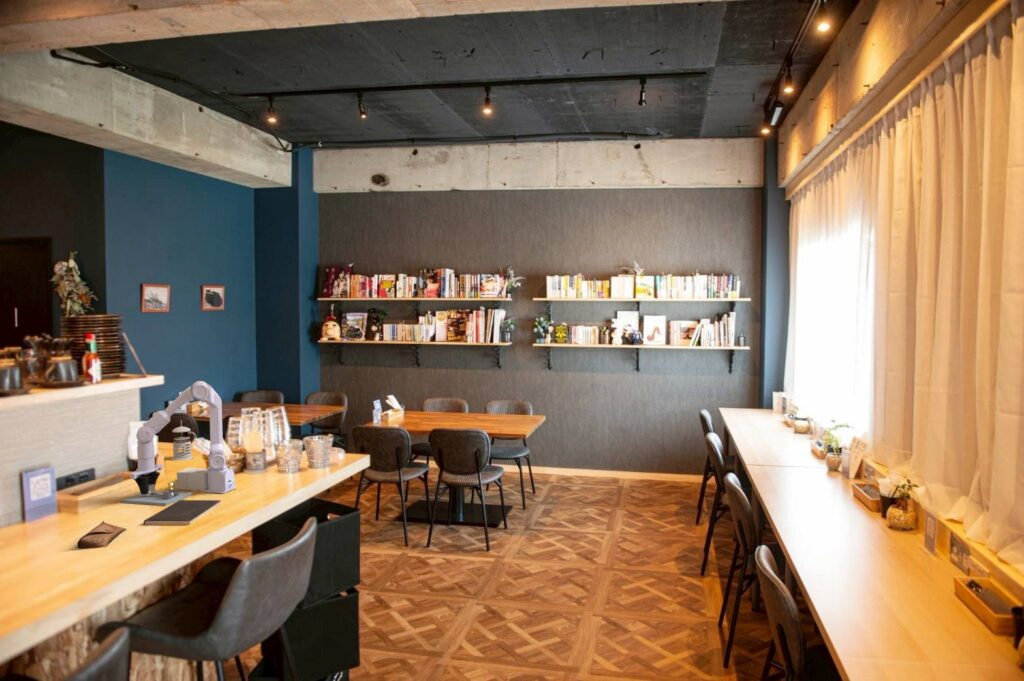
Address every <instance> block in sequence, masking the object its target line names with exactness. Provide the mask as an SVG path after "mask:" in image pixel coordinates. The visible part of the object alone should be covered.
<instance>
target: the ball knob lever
mask: <svg viewBox="0 0 1024 681" xmlns="http://www.w3.org/2000/svg"><path fill="white" fill-rule="evenodd" d="M167 486H168V487H167V490H173V489H174V488H177V486H178V479H177V478H176V479H173V480H172V481H170V482H168V484H167Z"/></svg>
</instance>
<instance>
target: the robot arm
mask: <svg viewBox="0 0 1024 681" xmlns="http://www.w3.org/2000/svg"><path fill="white" fill-rule="evenodd" d="M195 399H196V400H199V401H202V402H204V403H205V404H206V405H208V407H209V439H210V440H209V441H210V442H209V443H210V446H209V448H210V450H209V453H208V456H207V459H208V464H209V466H208V467H207V468H206V469H207V470H208V489H206V490H204V491H202V492H203V493H212V494H213V493H214V494H215V493H216V494H225V493H228V492H230V491H232V490H235V489H237V486H235V485H236V484H235V472H234V470H233V469H232V468H228V465H227V463H226V462H227V459H226V456H225V453H224V445H223V444H224V443H223V441H224V439H223V407H222V406H223V405H222V403H223V402H222V399H221V397H220V396H219V394H218V393H217V392H216V391H215V389H214V387H212V385H210V384H208V383H207V382H205V381H203V380H197V381H195V382H193V383H192V385H191V386H189V387H187V388H186V389H185V390H183V391H182V392H181V393H180V394H179V395H178V396H177V397H176V398H175V399H174V400H173V401H172V402H171V403H170V404H169V405H168V406H167V407H166V408H165V409H164V410H157V412H153V413H152V417H150V419H148V420H147V421H146V422H143V423H142V426H141V427H139V428H138V430H137V431H136V434H135V435H136V436H135V437H136V439H137V444H136V445H137V446H136V447H137V448H136V451H137V468H136V470H135V471H133V472H131V473H130V474H129V478H130V480H134V481H135V483H136V485H137V486H138V489H139V493H140V492H141V494H145V495H146V494H147V486H148V484H155V485H156V484H157V481H158V478H159V477H160V475H161V473H160V472H159V471H163V464H156V463H155V462H156V461H155V460H156V458H155V445H154V438H155V437H154V436H155V434H158V433H160V432H161V430H162V429H163V428H164V427H166V426H167V425H168V424H169V423H170V422H171V417H172V416H173V414H175V413H176V412H177V411H178V410H180V409H179V408H180V407H182V406H184V405H185V404H186V403H188V402H192V401H194V400H195Z"/></svg>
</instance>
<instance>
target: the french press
mask: <svg viewBox="0 0 1024 681" xmlns="http://www.w3.org/2000/svg"><path fill="white" fill-rule="evenodd" d="M183 409H184V408H183V407H182V406H181V407H180V408H179V409H178V410H183ZM182 423H183V422H182V421H180V426H178V427H175V428H173V429H172V433H181V435H180V436H179V437H174V438H173V441H172V449H173V450H172V451H173V457H172V458H171V459H170V461H175V462H177V461H180V460H181V461H189V460H192V459H194V456H193V455H192V447H193V445H192V443H191V442H192V441H191V440H190V439H191V437H190V435H191V434H193V438H194V439H193V440H195V441H196V437H197V435H196V433H195V432H194V431H191V428H189V427H187V426H183V425H182ZM186 432H187V433H188V435H189V436H183V433H186ZM188 459H189V460H188ZM181 461H180V462H181Z"/></svg>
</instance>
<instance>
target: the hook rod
mask: <svg viewBox="0 0 1024 681" xmlns="http://www.w3.org/2000/svg"><path fill="white" fill-rule="evenodd" d="M155 487H156V484H148V486H147V494H146V495H145V494H141V492H140V491H139V493H140V496H148V497H149V496H152V495H158V496H163V492H155V490H156V489H155ZM174 495H175V493H171V496H172V497H173V496H174Z"/></svg>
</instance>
